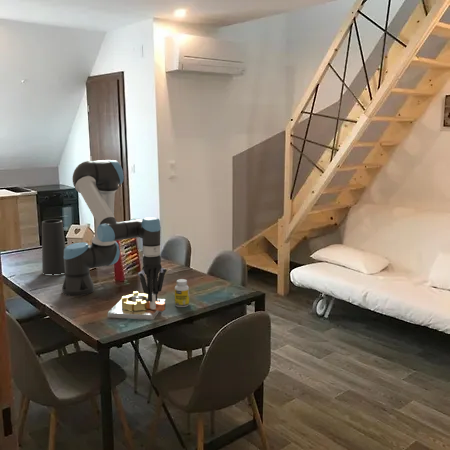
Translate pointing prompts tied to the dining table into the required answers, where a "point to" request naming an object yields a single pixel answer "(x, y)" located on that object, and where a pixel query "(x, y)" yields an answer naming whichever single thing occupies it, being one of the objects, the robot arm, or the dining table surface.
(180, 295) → the pill bottle
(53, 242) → the vase
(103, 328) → the dining table surface
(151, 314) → the plate
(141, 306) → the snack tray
